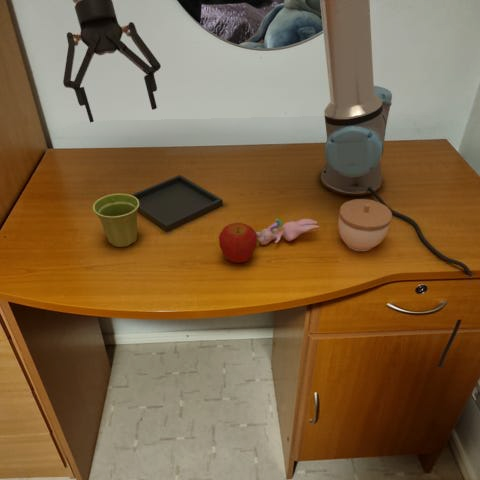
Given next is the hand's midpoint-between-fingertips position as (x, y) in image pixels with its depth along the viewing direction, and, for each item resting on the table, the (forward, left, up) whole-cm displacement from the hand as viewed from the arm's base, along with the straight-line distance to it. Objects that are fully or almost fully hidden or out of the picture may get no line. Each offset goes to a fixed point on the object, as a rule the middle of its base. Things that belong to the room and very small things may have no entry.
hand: (123, 115), depth 103 cm
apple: (-34, -2, -21) cm, 40 cm away
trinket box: (-48, -25, -21) cm, 58 cm away
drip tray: (-8, -5, -20) cm, 22 cm away
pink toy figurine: (-36, -14, -21) cm, 44 cm away
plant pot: (-12, +12, -21) cm, 26 cm away
